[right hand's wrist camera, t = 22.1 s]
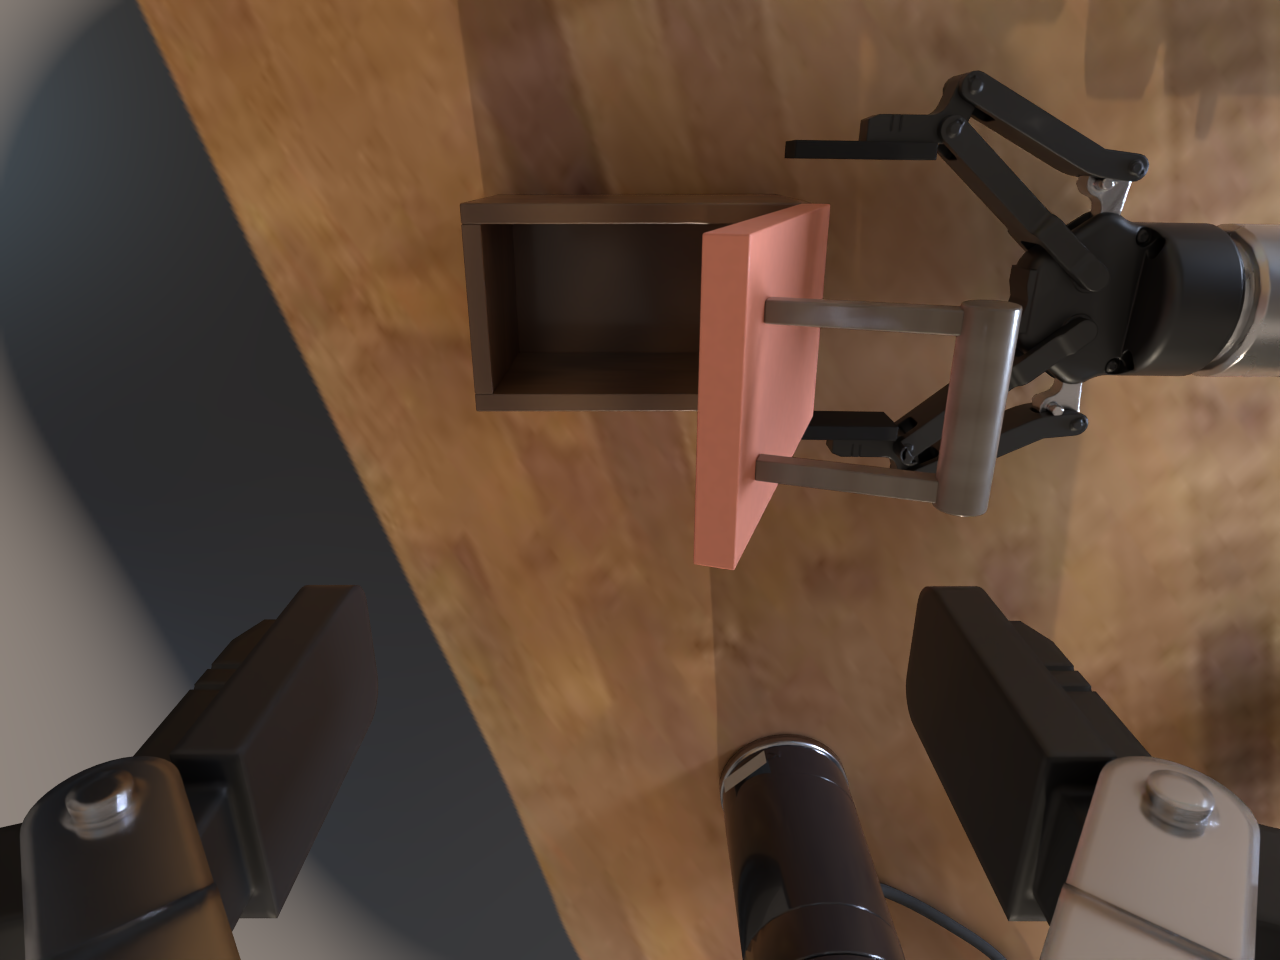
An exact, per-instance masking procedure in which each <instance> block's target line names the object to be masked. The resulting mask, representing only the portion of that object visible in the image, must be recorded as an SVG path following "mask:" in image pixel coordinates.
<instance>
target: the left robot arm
mask: <svg viewBox="0 0 1280 960" xmlns="http://www.w3.org/2000/svg"><path fill="white" fill-rule="evenodd" d="M970 117H972V118H974V119H975V120H977V121H979V122H980V123H982V124H984V125H985V126H987V127H988V128H990V129H992V130H993V131H995V132H997V133H998V134H1000V135H1001V136H1003V137H1005V138H1006V139H1008V140H1010V141H1011V142H1013V143H1014V144H1016V145H1018V146H1019V147H1021V148H1023V149H1024V150H1026V151H1027V152H1029V153H1031V154H1032V155H1034V156H1036V157H1037V158H1039V159H1040V160H1042V161H1044V162H1045V163H1047V164H1048V165H1050V166H1052V167H1053V168H1055V169H1057V170H1059V171H1061V172H1063V173H1066V174H1068V175H1071V176H1076V177H1079V178H1078V180H1077V183H1076V184H1077V187H1078V190H1079V192H1080V193H1081V194H1083V195H1085V196H1087V197H1088V198H1089V199H1090V200H1091V203H1092V208H1091V212H1088V213H1085V214H1083V215H1081V216H1080V217H1078V218H1077V219H1075V220H1074V221H1072V222H1070V223H1069V224H1067V225H1065V224H1064V223H1063V221H1062V220H1061V219H1059V218H1058V217H1057V216H1055V215H1053V214H1052V213H1050V212H1049V211H1048V210H1047V209H1046V208H1045V207H1044V206H1043V204H1042V203H1041V202H1040V201H1039V200H1038V199H1037V198H1036V197H1035V196H1034V194H1033V193H1032V192H1031V191H1030V190H1029V189H1028V188H1027V187H1026V186H1025V185H1024V183H1023V182H1022V181H1021V180H1020V179H1019V178H1018V177H1017V176H1016V175H1015V174H1014V172H1013V171H1012V170H1011V169H1010V168H1009V167H1008V166H1007V165H1006V164H1005V163H1004V161H1003V160H1002V159H1001V158H1000V157H999V156H998V155H997V154H996V153H995V152H994V150H993V149H992V148H991V147H990V146H989V145H988V144H987V143H986V142H985V141H984V139H983V138H982V137H981V136H980V135H979V134H978V133H977V132H976V131H975V129H974V128H973V127H972V126H971V125H970V124H969V123H968V121H969V119H970ZM937 153H938V154H939V155H940V156H941V157H942V159H943V160H944V161H945V162H946V163H947V164H948V165H949V166H950V167H951V168H952V169H953V170H954V171H955V172H956V174H957V175H958V176H959V177H960V178H961V179H962V180H963V181H964V182H965V183H966V184H967V185H968V186H969V188H970V189H971V190H972V191H973V192H974V193H975V194H976V195H977V196H978V197H979V198H980V199H981V200H982V201H983V203H984V204H985V205H986V206H987V207H988V208H989V209H990V210H991V211H992V212H993V213H994V214H995V215H996V216H997V218H998V219H999V220H1000V221H1001V222H1002V223H1003V224H1004V225H1005V226H1006V227H1007V229H1008V233H1009V234H1010V235H1011V236H1012V237H1013V238H1014V239H1015V241H1016V242H1017V243H1018V244H1019V245H1020V246H1021V247H1022V248H1023V249H1024V250H1025V251H1026V252H1025V253H1024V254H1023V255H1022V257H1021V258H1020V260H1019V261H1018V263H1017V265H1012V269H1011V274H1010V280H1009V281H1010V294H1011V295H1010V298H1009V301H1008V302H1012V303H1016V304H1019V305H1021V306H1022V308H1023V310H1022V315H1021V321H1020V327H1019V332H1018V338H1017V344H1016V349H1015V355H1014V361H1013V366H1012V372H1011V378H1010V383H1009V389H1008V391H1010V390H1011V389H1013V388H1014V387H1017V386H1022V385H1025V384H1027V383H1029V382H1031V381H1032V380H1034V379H1035V378H1036V377H1038V376H1039V375H1041V374H1042V373H1044V372H1046V373H1047V374H1049V375H1050V376H1051V377H1053V378H1055V380H1054V384H1053V385H1052V387H1051V388H1050V389H1049V390H1047V391H1045V392H1042V393H1039V394H1036V395H1034V396H1033V398H1032V403H1028V404H1023V405H1019V406H1015V407H1013V408H1010V409H1007V410H1005V412H1004V417H1003V423H1002V429H1001V434H1000V440H999V446H998V451H997V457H996V458H998V457H1000V456H1002V455H1005V454H1007V453H1009V452H1012V451H1014V450H1017V449H1019V448H1021V447H1024V446H1026V445H1029V444H1031V443H1033V442H1036V441H1038V440H1040V439H1043V438H1053V437H1063V436H1074V435H1079V434H1081V433H1082V432H1084V431H1085V430H1086V428H1087V426H1088V419H1087V417H1086V416H1085V415H1083V414H1082V413H1080V412H1079V406H1080V396H1081V387H1082V383H1083V382H1085V381H1087V380H1089V379H1091V378H1094V377H1097V376H1101V375H1139V376H1185V375H1189V374H1192V375H1195V376H1207V377H1280V225H1270V224H1221V225H1218V226H1215V225H1212V224H1207V223H1147V222H1130V221H1128V220H1126V219H1125V218H1123V217H1122V216H1121V215H1120V214H1121V211H1122V208H1123V205H1124V202H1125V199H1126V196H1127V193H1128V190H1129V187H1130V184H1131V182H1134V181H1138V180H1140V179H1142V178H1143V177H1144V176H1145V175H1146V173H1147V171H1148V167H1149V162H1148V159H1147V158H1146V157H1145V156H1144V155H1142V154H1137V153H1130V152H1123V151H1116V150H1109V149H1104V148H1103V147H1101V146H1100V145H1098V144H1097V143H1095V142H1093V141H1092V140H1090V139H1089V138H1087V137H1085V136H1084V135H1082V134H1081V133H1079V132H1077V131H1076V130H1074V129H1073V128H1071V127H1070V126H1068V125H1066V124H1065V123H1063V122H1062V121H1060V120H1058V119H1057V118H1055V117H1054V116H1052V115H1051V114H1049V113H1047V112H1046V111H1044V110H1043V109H1041V108H1039V107H1038V106H1036V105H1035V104H1033V103H1031V102H1030V101H1028V100H1027V99H1025V98H1024V97H1022V96H1020V95H1019V94H1017V93H1016V92H1014V91H1012V90H1011V89H1009V88H1008V87H1006V86H1005V85H1003V84H1001V83H1000V82H998V81H997V80H995V79H993V78H992V77H990V76H989V75H987V74H985V73H984V72H981V71H972V72H968V73H965V74H961V75H957V76H954V77H952V78H950V79H948V81H947V82H946V83H945V85H944V87H943V96H942V98H941V100H940V102H939V104H938V106H937V108H936V109H935V110H934V111H933V112H932V113H931V114H929V115H901V114H879V115H874V116H870V117H868V118H865V119H863V120H861V124H860V134H859V141H826V140H793V141H786V145H785V158H809V159H875V160H936V157H937ZM948 389H949V384H947V385H946V386H945V387H943V388H942V389H940V390H939V391H938V392H936V393H935V394H933V395H932V396H931V397H929V398H928V399H927V400H925V401H924V402H922V403H921V404H920V405H918V406H917V407H915V408H914V409H913V410H911V411H910V412H908V413H907V414H906V415H904V416H903V417H901V418H900V419H899V420H897V421H896V422H893V421H892V420H891V419H890V418H889V417H888V416H887V415H886V414H885V413H884V412H854V411H813V417H812V419H811V421H810V423H809V425H808V426H807V428H806V430H805V432H804V434H803V436H802V438H801V440H827V441H826V445H827V446H828V448H829V449H830V451H831V452H832V453H833V454H836V455H838V456H841V457H851V456H852V457H859V456H860V457H887V458H889V459H890V463H891V464H890V468H891V469H900V470H909V471H918V472H926V473H935V474H936V471H937V464H938V457H939V450H940V444H941V437H942V430H943V423H944V416H945V410H946V403H947V396H948Z"/></svg>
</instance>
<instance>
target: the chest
mask: <svg viewBox="0 0 1280 960" xmlns="http://www.w3.org/2000/svg"><path fill="white" fill-rule="evenodd" d="M799 204H812V203H809V202H805V201H801V200H797V199H793V198H788V197H784V196H780V195H776V194H674V195H495V196H490V197H486V198H482V199H477V200H473V201H469V202H464V203H461V204H460V213H461V223H462V225H461V226H462V239H463V251H464V263H465V276H466V288H467V301H468V313H469V325H470V338H471V350H472V363H473V375H474V387H475V393H476V394H475V399H476V410H477V411H698V380H699V343H700V306H701V269H702V235H703V233H706V232H709V231H712V230H716V229H719V228H722V227H726V226H729V225H732V224H736V223H739V222H742V221H746V220H749V219H752V218H756V217H759V216H762V215H766V214H769V213H772V212H776V211H779V210H782V209H786V208H789V207H792V206H796V205H799Z"/></svg>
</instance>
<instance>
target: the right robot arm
mask: <svg viewBox="0 0 1280 960" xmlns="http://www.w3.org/2000/svg"><path fill="white" fill-rule="evenodd" d="M377 695H378V677H377V669H376V662H375V655H374V649H373V642H372V635H371V628H370V621H369V614H368V608H367V602H366V597H365V593H364V591H363V589H362V588H361V587H360V586H358V585H306V586H304V587H302V588H301V589H300V590H299V592H298V593H297V594H296V595H295V597H294V598H293V599H292V600H291V602H290V603H289V604H288V605H287V607H286V608H285V609H284V610H283V612H282V613H281V614H280V615H279V617H278V618H277V619H276V620H263V621H262V622H260V623H259V624H257V625H255V626H254V627H252V628H251V629H249V630H247V631H246V632H244V633H243V634H241V635H240V636H238V637H236V638H235V639H233V640H232V641H231V642H230V643H229V645H228V646H227V647H226V648H225V649H224V650H223V652H222V653H221V654H220V655H219V656H218V657H217V659H216V660H215V661H214V662H213V663H212V668H211V669H207V670H206V672H205V673H204V674H203V675H202V676H201V677H200V679H199V680H198V681H197V682H196V683H195V687H194V690H189V691H188V693H187V694H186V695H185V696H184V697H183V698H182V700H181V701H180V702H179V703H178V704H177V706H176V707H175V708H174V709H173V710H172V711H171V713H170V714H169V715H168V716H167V717H166V718H165V720H164V721H163V722H162V723H161V724H160V726H159V727H158V728H157V729H156V730H155V731H154V733H153V734H152V735H151V736H150V737H149V738H148V740H147V741H146V742H145V743H144V744H143V745H142V747H141V748H140V749H139V750H138V751H137V752H136V754H135V755H134V756H133V757H126V758H121V759H116V760H112V761H108V762H105V763H102V764H99V765H96V766H93V767H91V768H88V769H86V770H83V771H81V772H79V773H77V774H75V775H73V776H71V777H70V778H68V779H66V780H65V781H63V782H61V783H60V784H58V785H57V786H55V787H54V788H53V789H51V790H50V791H49V792H47V793H46V794H45V795H44V796H43V797H42V798H41V799H40V800H38V801H37V803H36V804H35V805H34V806H33V807H32V808H31V809H30V811H29V812H28V814H27V815H26V817H25V818H24V821H23V823H20V824H15V825H11V826H6V827H2V828H0V960H241V959H240V956H239V953H238V950H237V947H236V943H235V940H234V937H233V934H232V931H233V929H234V927H235V925H236V923H237V922H238V919H239V918H278V916H279V913H280V911H281V909H282V907H283V905H284V903H285V901H286V899H287V897H288V895H289V893H290V891H291V888H292V886H293V884H294V882H295V880H296V878H297V876H298V874H299V872H300V870H301V868H302V866H303V863H304V861H305V859H306V857H307V855H308V853H309V851H310V849H311V847H312V845H313V843H314V840H315V838H316V836H317V834H318V832H319V830H320V828H321V826H322V824H323V822H324V820H325V818H326V815H327V813H328V811H329V809H330V807H331V805H332V803H333V801H334V799H335V797H336V795H337V792H338V790H339V788H340V786H341V784H342V782H343V780H344V778H345V776H346V774H347V772H348V770H349V768H350V765H351V763H352V761H353V759H354V757H355V755H356V753H357V751H358V749H359V747H360V744H361V742H362V740H363V738H364V736H365V734H366V732H367V730H368V728H369V726H370V724H371V721H372V719H373V716H374V713H375V709H376V703H377ZM906 697H907V705H908V710H909V714H910V717H911V721H912V723H913V725H914V727H915V729H916V731H917V733H918V735H919V738H920V740H921V742H922V744H923V746H924V748H925V750H926V752H927V754H928V756H929V758H930V760H931V762H932V764H933V766H934V768H935V770H936V773H937V775H938V777H939V779H940V781H941V783H942V785H943V787H944V789H945V791H946V793H947V795H948V797H949V799H950V801H951V803H952V806H953V808H954V810H955V812H956V814H957V816H958V818H959V820H960V822H961V824H962V826H963V828H964V830H965V832H966V834H967V836H968V838H969V841H970V843H971V845H972V847H973V849H974V851H975V853H976V855H977V857H978V859H979V861H980V863H981V865H982V867H983V869H984V871H985V873H986V876H987V878H988V880H989V882H990V884H991V886H992V888H993V890H994V892H995V894H996V896H997V898H998V900H999V902H1000V904H1001V906H1002V908H1003V911H1004V913H1005V915H1006V917H1007V919H1008V921H1047V922H1048V924H1049V926H1050V928H1049V931H1048V934H1047V937H1046V940H1045V943H1044V947H1043V950H1042V953H1041V956H1040V959H1039V960H1280V829H1277V828H1273V827H1268V826H1265V825H1261V824H1258V823H1257V821H1256V818H1255V817H1254V815H1253V814H1252V812H1251V811H1250V809H1249V808H1248V807H1247V806H1246V805H1245V804H1244V803H1243V801H1242V800H1241V799H1239V798H1238V797H1237V796H1236V795H1235V794H1234V793H1233V792H1231V791H1230V790H1229V789H1227V788H1226V787H1225V786H1223V785H1222V784H1220V783H1219V782H1217V781H1215V780H1214V779H1212V778H1210V777H1209V776H1207V775H1205V774H1203V773H1201V772H1199V771H1197V770H1194V769H1192V768H1189V767H1187V766H1184V765H1182V764H1178V763H1175V762H1172V761H1169V760H1164V759H1160V758H1154V757H1152V756H1151V755H1150V754H1149V753H1148V752H1147V751H1146V749H1145V748H1144V747H1143V746H1142V745H1141V744H1140V742H1139V741H1138V740H1137V739H1136V738H1135V737H1134V735H1133V734H1132V733H1131V732H1130V731H1129V730H1128V729H1127V727H1126V726H1125V725H1124V724H1123V723H1122V722H1121V720H1120V719H1119V718H1118V717H1117V716H1116V715H1115V713H1114V712H1113V711H1112V710H1111V709H1110V708H1109V706H1108V705H1107V704H1106V703H1105V702H1104V701H1103V699H1102V698H1101V697H1100V696H1099V695H1098V694H1097V692H1092V691H1091V686H1090V684H1089V683H1088V682H1087V681H1086V680H1085V679H1084V677H1083V676H1082V675H1081V674H1080V673H1079V672H1078V671H1074V666H1073V665H1072V663H1071V662H1070V661H1069V660H1068V659H1067V658H1066V656H1065V655H1064V654H1063V653H1062V652H1061V651H1060V649H1059V648H1058V647H1057V646H1056V645H1055V644H1054V643H1053V642H1052V641H1051V640H1049V639H1048V638H1046V637H1045V636H1043V635H1041V634H1040V633H1038V632H1037V631H1035V630H1034V629H1032V628H1030V627H1029V626H1027V625H1026V624H1024V623H1023V622H1021V621H1008V619H1007V618H1006V617H1005V616H1004V614H1003V613H1002V612H1001V611H1000V609H999V608H998V607H997V606H996V605H995V603H994V602H993V601H992V600H991V598H990V597H989V596H988V595H987V593H986V592H985V591H984V590H983V589H982V588H980V587H977V586H927V587H925V588H923V590H922V591H921V593H920V595H919V599H918V604H917V610H916V617H915V623H914V630H913V637H912V644H911V650H910V657H909V664H908V670H907V678H906ZM719 789H720V798H721V804H722V808H723V811H724V818H725V826H726V836H727V843H728V851H729V859H730V866H731V874H732V882H733V889H734V897H735V904H736V912H737V920H738V927H739V935H740V943H741V950H742V958H743V960H905V957H904V954H903V951H902V948H901V945H900V942H899V939H898V937H897V934H896V931H895V928H894V925H893V921H892V918H891V915H890V912H889V909H888V906H887V903H886V900H885V898H888V899H890V900H893V901H895V902H897V903H899V904H902V905H904V906H906V907H908V908H910V909H912V910H914V911H916V912H917V913H919V914H921V915H923V916H925V917H927V918H928V919H930V920H932V921H934V922H935V923H937V924H939V925H940V926H942V927H944V928H945V929H947V930H949V931H950V932H952V933H954V934H955V935H957V936H958V937H960V938H962V939H963V940H965V941H966V942H968V943H969V944H971V945H972V946H974V947H975V948H977V949H978V950H980V951H981V952H982V953H984V954H985V955H986V956H988V957H989V958H990V959H991V960H1007V959H1006V958H1005V957H1004V956H1003V955H1002V954H1000V953H999V952H998V951H997V950H996V949H995V948H994V947H992V946H991V945H990V944H989V943H987V942H986V941H985V940H983V939H982V938H981V937H979V936H978V935H976V934H975V933H973V932H972V931H970V930H969V929H967V928H965V927H964V926H962V925H961V924H959V923H957V922H956V921H954V920H953V919H951V918H949V917H948V916H946V915H944V914H943V913H941V912H939V911H938V910H936V909H934V908H933V907H931V906H929V905H927V904H925V903H924V902H922V901H920V900H918V899H916V898H914V897H912V896H910V895H908V894H906V893H904V892H902V891H899V890H897V889H895V888H893V887H890V886H888V885H885V884H882V883H880V882H879V879H878V876H877V873H876V870H875V867H874V864H873V861H872V858H871V855H870V852H869V849H868V846H867V843H866V840H865V837H864V833H863V830H862V827H861V824H860V821H859V818H858V815H857V812H856V808H855V805H854V802H853V799H852V796H851V793H850V790H849V786H848V781H847V777H846V774H845V771H844V768H843V766H842V763H841V762H840V760H839V758H838V757H837V756H836V754H835V753H834V752H833V751H832V750H831V749H829V748H828V747H827V746H825V745H824V744H822V743H820V742H819V741H816V740H814V739H811V738H808V737H804V736H799V735H790V734H785V735H774V736H769V737H765V738H762V739H759V740H756V741H754V742H752V743H750V744H748V745H746V746H745V747H743V748H742V749H740V750H739V751H738V752H737V753H736V754H734V755H733V756H732V758H731V759H730V760H729V761H728V763H727V764H726V766H725V768H724V770H723V772H722V775H721V778H720V788H719Z"/></svg>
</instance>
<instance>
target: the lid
mask: <svg viewBox="0 0 1280 960" xmlns="http://www.w3.org/2000/svg"><path fill="white" fill-rule="evenodd" d="M829 216H830V204H799V205H796V206H792V207H789V208H786V209H782V210H779V211H776V212H772V213H769V214H766V215H762V216H759V217H756V218H752V219H749V220H746V221H742V222H739V223H736V224H732V225H729V226H726V227H722V228H719V229H716V230H712V231H709V232H706V233H703V235H702V269H701V306H700V343H699V380H698V417H697V454H696V491H695V528H694V564H698V565H704V566H710V567H716V568H723V569H729V570H734V569H735V567H736V565H737V563H738V561H739V559H740V557H741V556H742V554H743V552H744V550H745V548H746V546H747V544H748V542H749V540H750V538H751V536H752V534H753V532H754V530H755V528H756V526H757V524H758V522H759V520H760V518H761V516H762V514H763V512H764V511H765V509H766V507H767V505H768V503H769V501H770V499H771V497H772V495H773V493H774V491H775V489H776V487H777V485H778V484H786V485H794V486H802V487H810V488H818V489H826V490H834V491H842V492H850V493H858V494H866V495H874V496H882V497H890V498H898V499H906V500H914V501H922V502H930V503H932V504H933V506H934V507H935V508H936V509H938V510H940V511H942V512H944V513H947V514H951V515H955V516H962V517H974V516H980V515H983V514H984V513H985V512H986V511H987V508H988V502H989V497H990V491H991V485H992V480H993V474H994V468H995V463H996V457H997V451H998V446H999V440H1000V434H1001V429H1002V423H1003V417H1004V412H1005V406H1006V400H1007V395H1008V389H1009V383H1010V378H1011V372H1012V366H1013V361H1014V355H1015V349H1016V344H1017V338H1018V332H1019V327H1020V321H1021V315H1022V310H1023V308H1022V306H1021V305H1019V304H1016V303H1012V302H1006V301H997V300H970V301H965V302H963V303H962V304H961V306H942V305H923V304H904V303H884V302H865V301H846V300H827V299H823V288H824V276H825V264H826V252H827V240H828V228H829ZM820 327H823V328H839V329H855V330H871V331H887V332H903V333H919V334H935V335H951V336H956V342H955V349H954V355H953V362H952V369H951V376H950V383H949V389H948V396H947V403H946V410H945V416H944V423H943V430H942V437H941V444H940V450H939V457H938V464H937V471H936V474H935V473H926V472H918V471H909V470H900V469H891V468H882V467H874V466H865V465H856V464H847V463H839V462H830V461H821V460H812V459H804V458H795V457H792V456H793V454H794V452H795V450H796V448H797V446H798V444H799V442H800V440H801V438H802V436H803V434H804V432H805V430H806V428H807V426H808V425H809V423H810V421H811V419H812V417H813V408H814V396H815V384H816V372H817V360H818V348H819V336H820Z"/></svg>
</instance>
